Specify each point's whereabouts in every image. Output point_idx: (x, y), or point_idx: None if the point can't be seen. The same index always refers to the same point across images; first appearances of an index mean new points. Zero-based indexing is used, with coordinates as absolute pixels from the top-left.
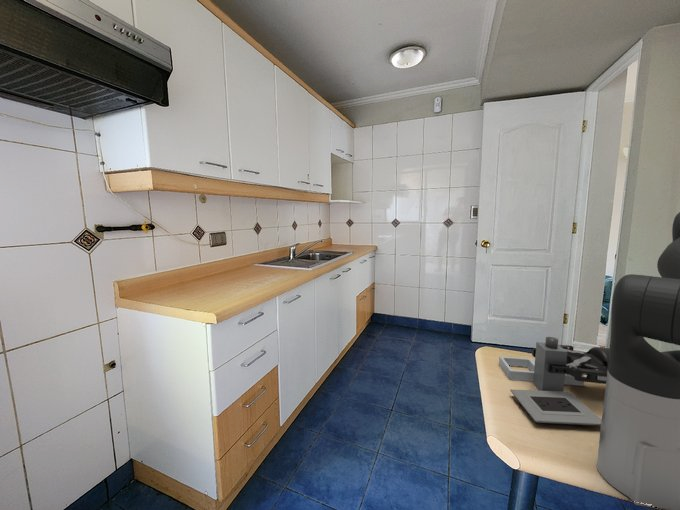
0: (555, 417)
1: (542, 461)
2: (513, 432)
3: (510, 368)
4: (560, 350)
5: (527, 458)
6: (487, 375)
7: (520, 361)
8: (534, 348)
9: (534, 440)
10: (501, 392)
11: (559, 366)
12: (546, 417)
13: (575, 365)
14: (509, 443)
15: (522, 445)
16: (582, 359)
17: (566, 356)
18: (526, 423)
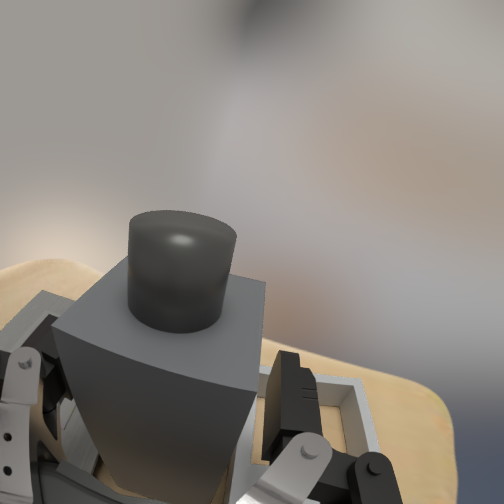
0: (23, 321)
1: (9, 269)
2: (59, 277)
3: (267, 372)
4: (91, 302)
5: (23, 262)
6: (261, 345)
7: (360, 445)
8: (293, 354)
9: (31, 286)
10: None
11: None
12: (34, 309)
13: (9, 380)
14: (49, 262)
15: (37, 270)
16: (15, 483)
17: (61, 358)
18: None
